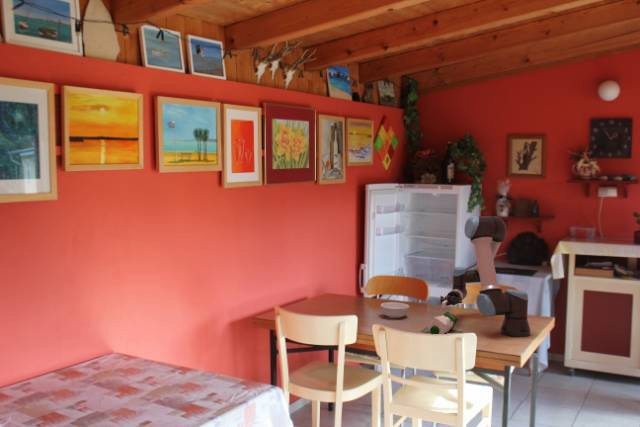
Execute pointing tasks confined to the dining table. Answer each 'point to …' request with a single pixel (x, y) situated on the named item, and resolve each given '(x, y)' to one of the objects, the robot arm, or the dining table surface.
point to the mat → (445, 333)
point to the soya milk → (442, 323)
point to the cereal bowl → (394, 309)
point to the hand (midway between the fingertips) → (443, 305)
